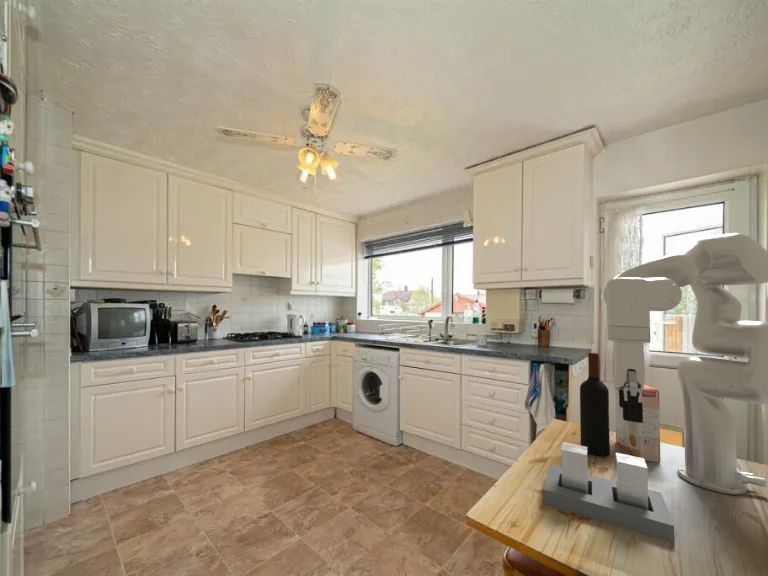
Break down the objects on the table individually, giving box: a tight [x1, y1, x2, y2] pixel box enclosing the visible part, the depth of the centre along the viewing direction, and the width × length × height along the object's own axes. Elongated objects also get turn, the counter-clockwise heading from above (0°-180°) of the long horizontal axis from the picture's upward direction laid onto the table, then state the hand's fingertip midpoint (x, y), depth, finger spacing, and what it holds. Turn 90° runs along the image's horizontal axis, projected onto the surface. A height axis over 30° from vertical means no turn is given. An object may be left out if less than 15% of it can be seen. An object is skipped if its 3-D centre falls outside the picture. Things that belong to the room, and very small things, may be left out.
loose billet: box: [615, 452, 649, 510], centre depth 70 cm, size 5×5×11 cm
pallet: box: [543, 465, 675, 543], centre depth 73 cm, size 22×13×4 cm, turn 58°
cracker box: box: [614, 383, 661, 463], centre depth 102 cm, size 14×6×21 cm, turn 168°
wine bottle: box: [579, 352, 611, 458], centre depth 102 cm, size 8×8×30 cm
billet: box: [561, 441, 589, 494], centre depth 76 cm, size 5×5×11 cm
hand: (630, 414), depth 71 cm, fingers open, 9 cm apart
